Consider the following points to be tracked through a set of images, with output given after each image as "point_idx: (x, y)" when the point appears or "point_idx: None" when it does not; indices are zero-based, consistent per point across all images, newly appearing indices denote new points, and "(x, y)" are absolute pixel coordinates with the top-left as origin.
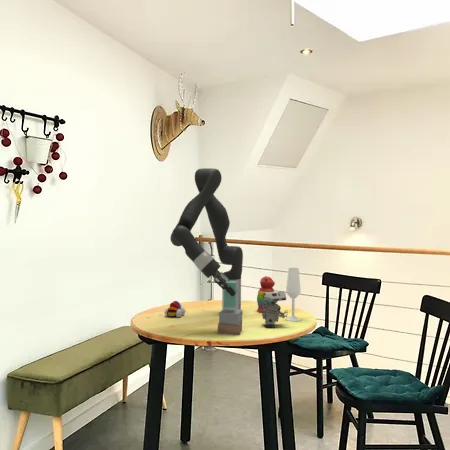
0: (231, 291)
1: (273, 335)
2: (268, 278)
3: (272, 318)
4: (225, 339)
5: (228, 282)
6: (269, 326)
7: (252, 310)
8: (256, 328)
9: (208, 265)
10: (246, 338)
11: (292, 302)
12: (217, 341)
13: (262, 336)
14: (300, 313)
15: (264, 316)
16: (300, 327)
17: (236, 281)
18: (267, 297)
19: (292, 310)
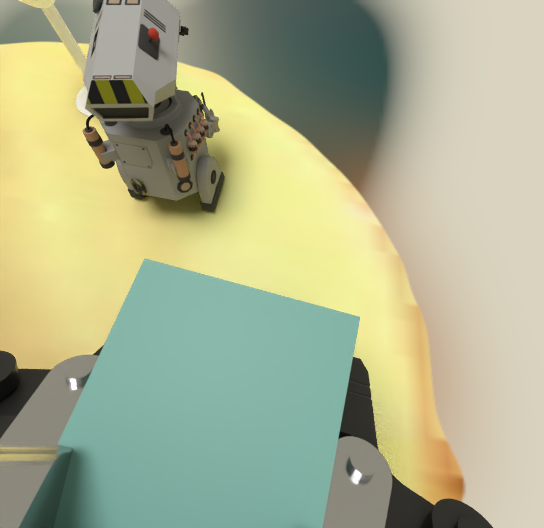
0: (368, 400)
1: (340, 209)
2: None
3: (214, 163)
4: (411, 431)
5: (292, 478)
6: (217, 195)
7: None
8: (217, 249)
9: None
10: (389, 323)
11: (61, 27)
12: (454, 484)
13: (355, 251)
14: (18, 56)
15: (184, 187)
16: (229, 102)
17: (154, 263)
18: (155, 93)
19: (84, 65)
